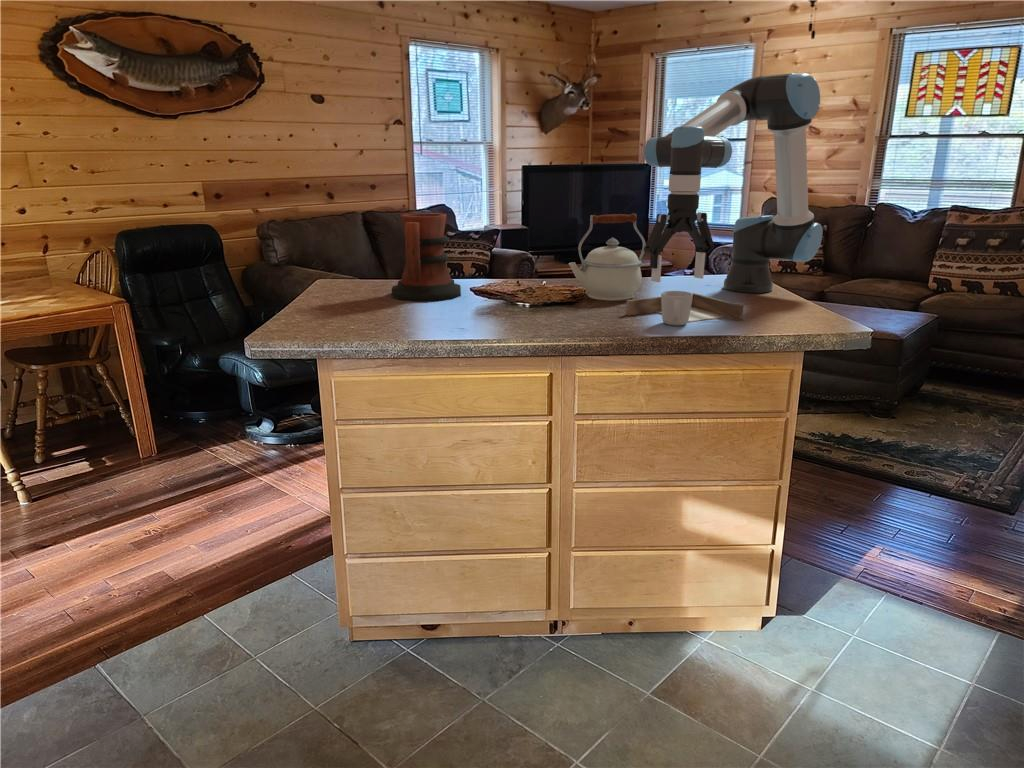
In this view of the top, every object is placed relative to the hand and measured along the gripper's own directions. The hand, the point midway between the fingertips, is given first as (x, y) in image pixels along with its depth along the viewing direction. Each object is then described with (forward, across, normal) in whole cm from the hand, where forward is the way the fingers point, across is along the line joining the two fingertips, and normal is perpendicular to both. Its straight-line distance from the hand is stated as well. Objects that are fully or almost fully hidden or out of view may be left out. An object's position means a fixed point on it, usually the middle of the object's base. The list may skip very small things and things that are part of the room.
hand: (677, 279), depth 186 cm
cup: (+12, 0, 0) cm, 12 cm away
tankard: (+12, +44, -67) cm, 81 cm away
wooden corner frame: (+12, -7, -6) cm, 15 cm away
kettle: (+12, -5, -40) cm, 42 cm away
